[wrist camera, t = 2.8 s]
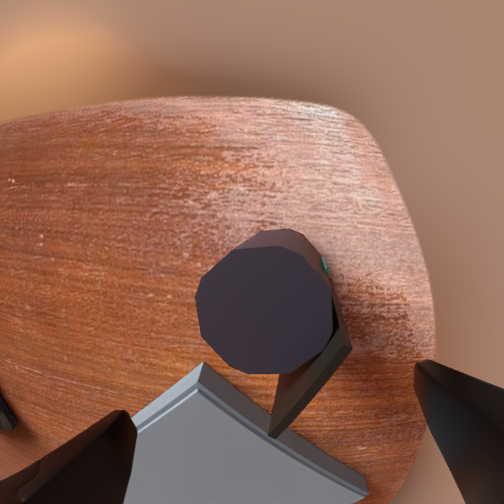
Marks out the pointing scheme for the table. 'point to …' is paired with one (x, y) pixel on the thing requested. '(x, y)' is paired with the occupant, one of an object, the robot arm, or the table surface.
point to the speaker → (275, 317)
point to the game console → (6, 418)
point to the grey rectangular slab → (228, 453)
